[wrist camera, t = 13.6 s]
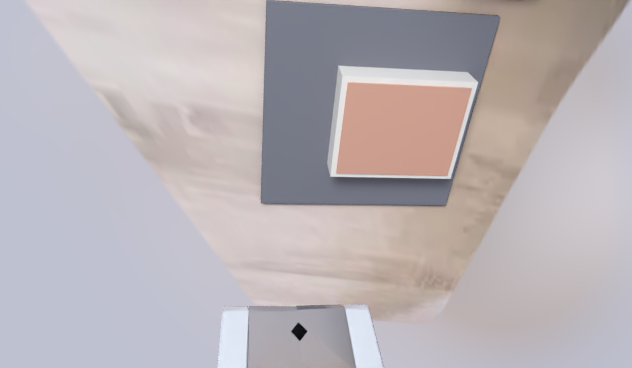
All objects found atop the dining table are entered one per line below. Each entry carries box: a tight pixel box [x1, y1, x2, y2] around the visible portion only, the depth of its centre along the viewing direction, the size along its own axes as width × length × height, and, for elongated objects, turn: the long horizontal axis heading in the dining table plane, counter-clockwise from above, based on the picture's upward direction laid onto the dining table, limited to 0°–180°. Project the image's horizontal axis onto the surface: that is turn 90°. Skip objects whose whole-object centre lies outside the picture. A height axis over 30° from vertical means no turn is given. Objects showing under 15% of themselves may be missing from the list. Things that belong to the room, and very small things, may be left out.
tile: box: [327, 66, 478, 179], centre depth 44 cm, size 10×3×12 cm
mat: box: [261, 0, 500, 205], centre depth 45 cm, size 20×20×1 cm
